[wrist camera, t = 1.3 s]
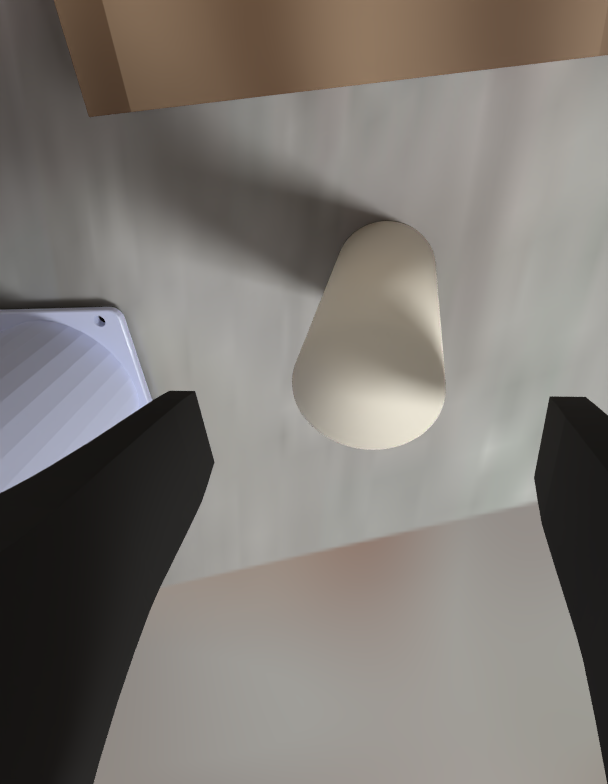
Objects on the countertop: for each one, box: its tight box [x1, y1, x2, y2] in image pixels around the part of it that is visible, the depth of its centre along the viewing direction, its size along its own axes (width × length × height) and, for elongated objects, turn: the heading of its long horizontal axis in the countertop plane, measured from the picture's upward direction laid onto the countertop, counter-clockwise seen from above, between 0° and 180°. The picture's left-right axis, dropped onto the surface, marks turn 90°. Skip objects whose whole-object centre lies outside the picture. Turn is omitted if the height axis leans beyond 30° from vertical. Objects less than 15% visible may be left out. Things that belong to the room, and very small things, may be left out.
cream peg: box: [292, 221, 446, 450], centre depth 15 cm, size 4×4×8 cm
